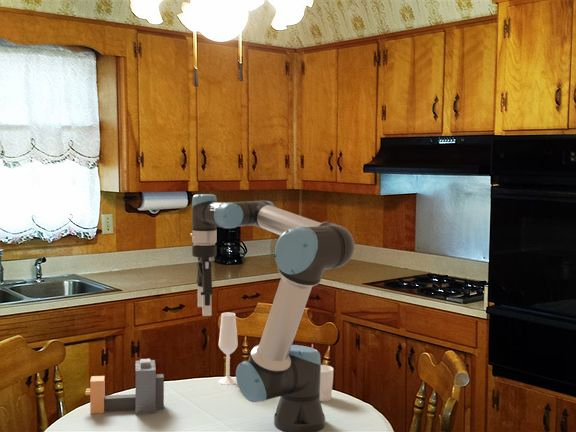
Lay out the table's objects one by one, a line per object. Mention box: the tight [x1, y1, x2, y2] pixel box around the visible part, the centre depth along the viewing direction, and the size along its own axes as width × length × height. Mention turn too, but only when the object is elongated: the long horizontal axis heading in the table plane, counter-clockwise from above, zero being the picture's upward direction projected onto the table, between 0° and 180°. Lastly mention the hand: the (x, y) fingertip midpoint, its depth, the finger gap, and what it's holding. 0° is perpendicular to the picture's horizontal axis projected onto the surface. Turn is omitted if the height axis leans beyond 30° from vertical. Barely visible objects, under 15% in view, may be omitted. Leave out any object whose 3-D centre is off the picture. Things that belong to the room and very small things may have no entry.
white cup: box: [320, 364, 335, 402], centre depth 237 cm, size 8×8×10 cm
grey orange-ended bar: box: [85, 373, 165, 415], centre depth 224 cm, size 24×5×10 cm, turn 102°
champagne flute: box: [217, 312, 239, 386], centre depth 252 cm, size 7×7×24 cm
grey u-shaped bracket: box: [135, 358, 157, 415], centre depth 225 cm, size 6×11×15 cm, turn 12°
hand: (204, 311), depth 227 cm, fingers open, 13 cm apart
